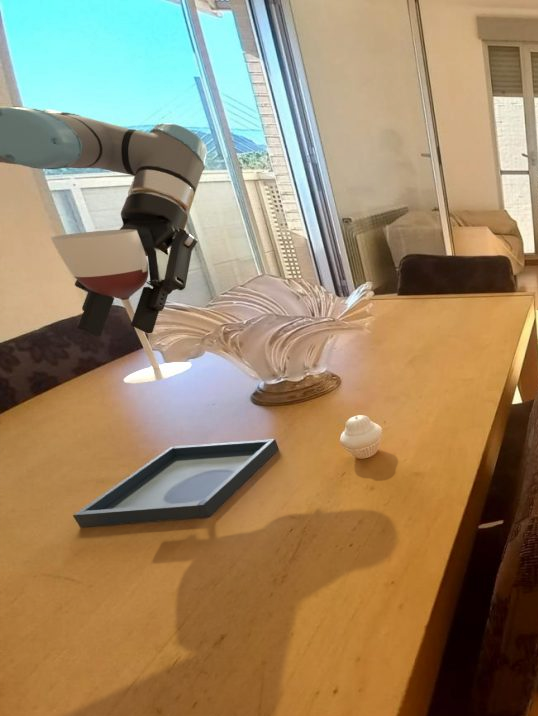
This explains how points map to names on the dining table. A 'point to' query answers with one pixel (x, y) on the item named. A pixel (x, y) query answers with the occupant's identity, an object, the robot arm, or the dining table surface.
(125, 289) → the wineglass
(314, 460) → the dining table surface
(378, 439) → the muffin
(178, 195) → the robot arm
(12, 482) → the dining table surface
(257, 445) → the tray
